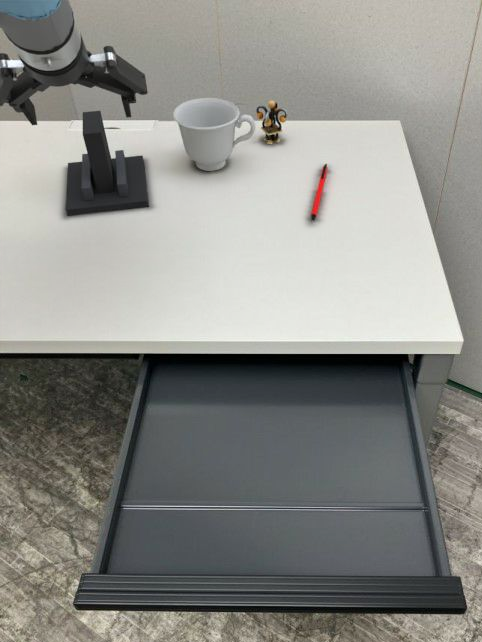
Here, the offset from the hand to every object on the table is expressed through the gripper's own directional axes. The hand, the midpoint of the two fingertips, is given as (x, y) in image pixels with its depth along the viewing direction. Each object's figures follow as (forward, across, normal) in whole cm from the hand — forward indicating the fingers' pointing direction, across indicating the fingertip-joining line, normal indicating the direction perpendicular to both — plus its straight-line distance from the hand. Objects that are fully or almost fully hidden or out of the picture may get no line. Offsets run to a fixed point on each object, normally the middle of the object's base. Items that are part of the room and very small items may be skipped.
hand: (81, 111), depth 88 cm
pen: (+13, +38, -13) cm, 42 cm away
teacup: (+24, +21, -3) cm, 32 cm away
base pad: (+21, 0, -6) cm, 21 cm away
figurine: (+28, +33, +2) cm, 44 cm away
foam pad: (+20, 0, -5) cm, 20 cm away
